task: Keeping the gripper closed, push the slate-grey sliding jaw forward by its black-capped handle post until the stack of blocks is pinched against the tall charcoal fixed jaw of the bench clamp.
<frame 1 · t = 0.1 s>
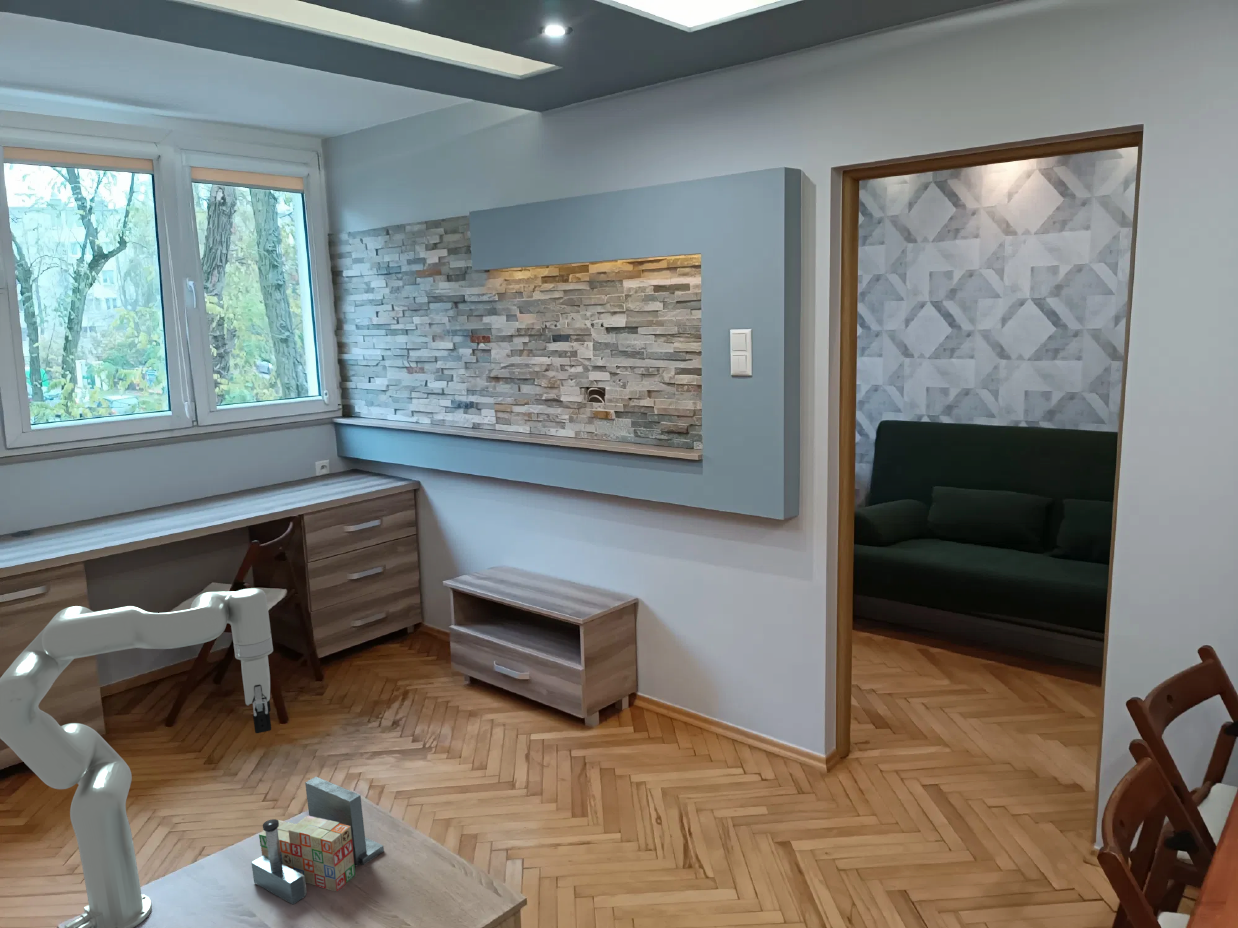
hand: (263, 721, 191), 37 cm above the table, tool pointing down, fingers open, 9 cm apart
fixed jaw: (339, 851, 206), on the table
stack of blocks: (309, 873, 199), on the table
sliding jaw: (275, 856, 192), point 8 cm above the table, slide at 0.0 cm
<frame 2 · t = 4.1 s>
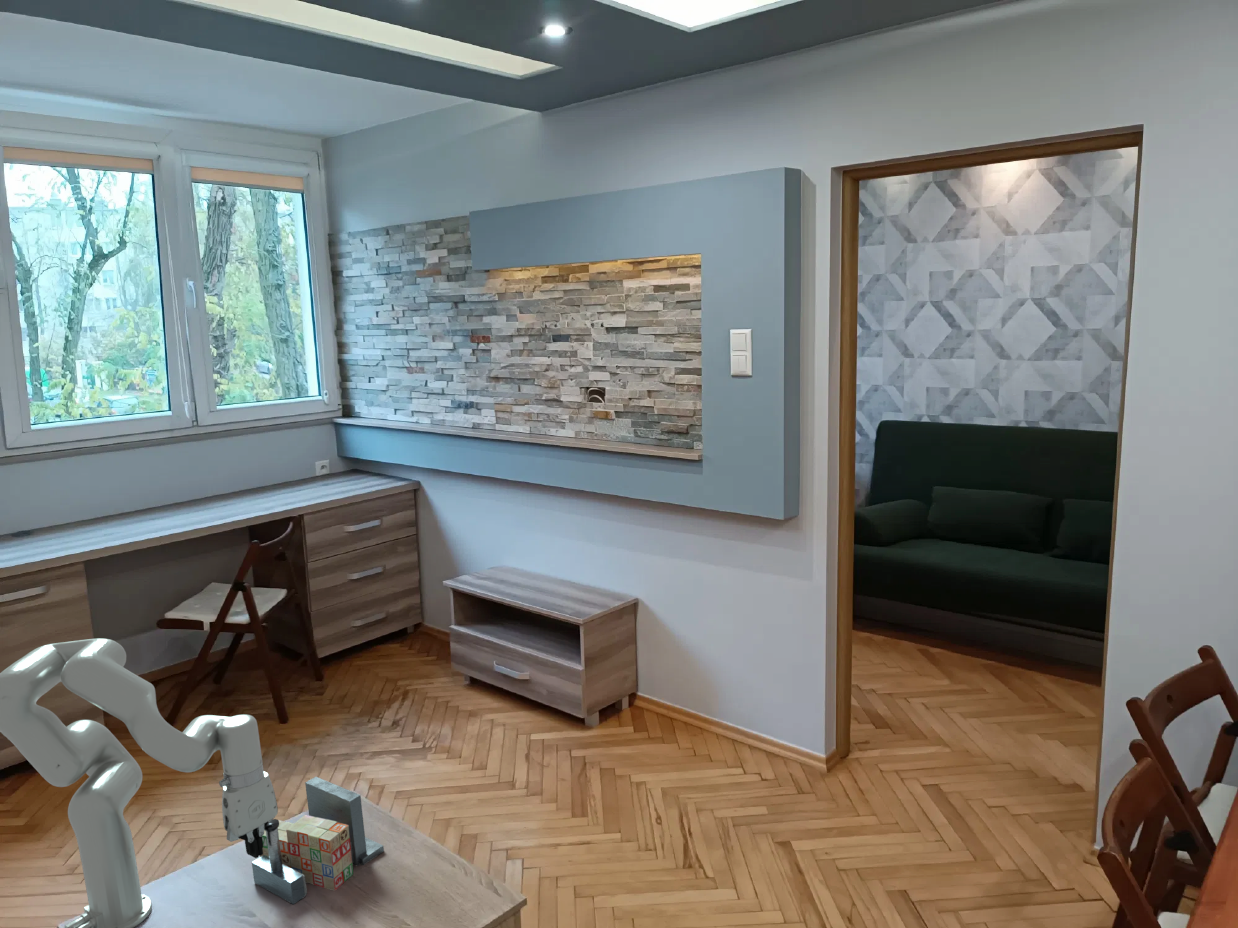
hand: (255, 854, 187), 11 cm above the table, tool pointing down, fingers closed
sliding jaw: (276, 855, 192), point 8 cm above the table, slide at 0.1 cm, touching gripper
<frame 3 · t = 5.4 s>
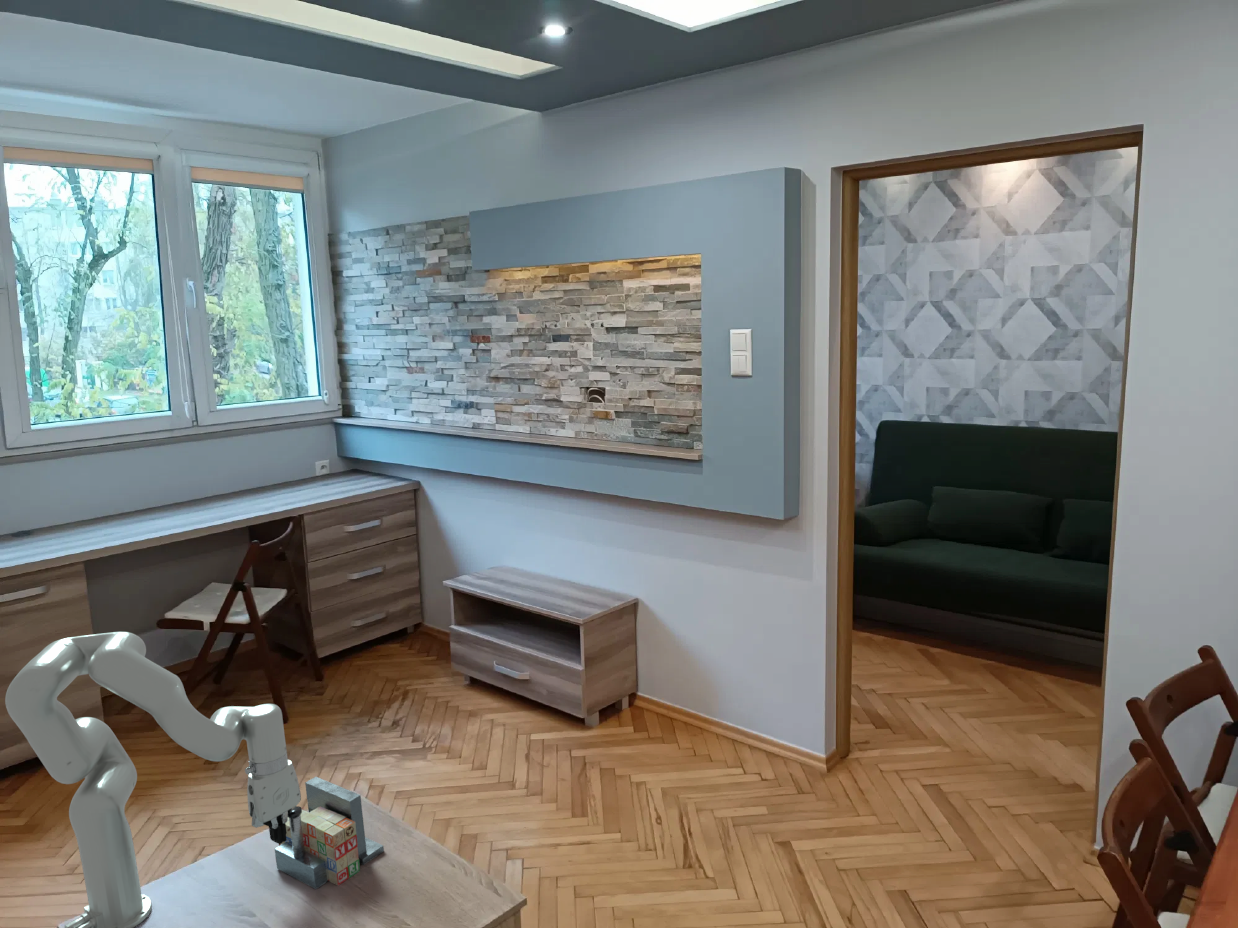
hand: (279, 840, 192), 11 cm above the table, tool pointing down, fingers closed
stack of blocks: (319, 863, 202), on the table, touching fixed jaw, sliding jaw
sliding jaw: (298, 842, 196), point 8 cm above the table, slide at 5.8 cm, touching gripper, stack of blocks
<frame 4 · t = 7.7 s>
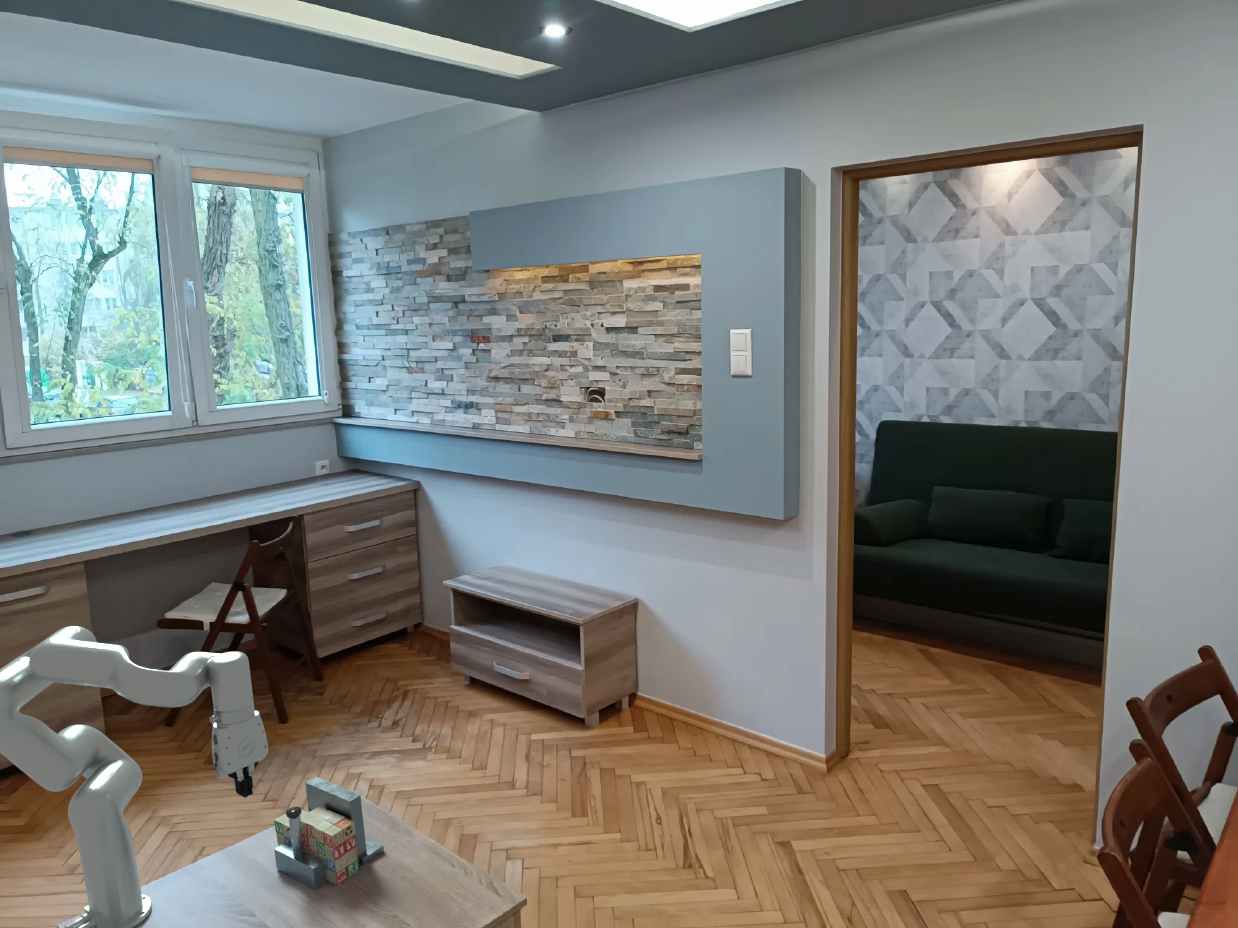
hand: (245, 793, 185), 25 cm above the table, tool pointing down, fingers closed
stack of blocks: (318, 863, 202), on the table
sliding jaw: (298, 842, 196), point 8 cm above the table, slide at 5.7 cm
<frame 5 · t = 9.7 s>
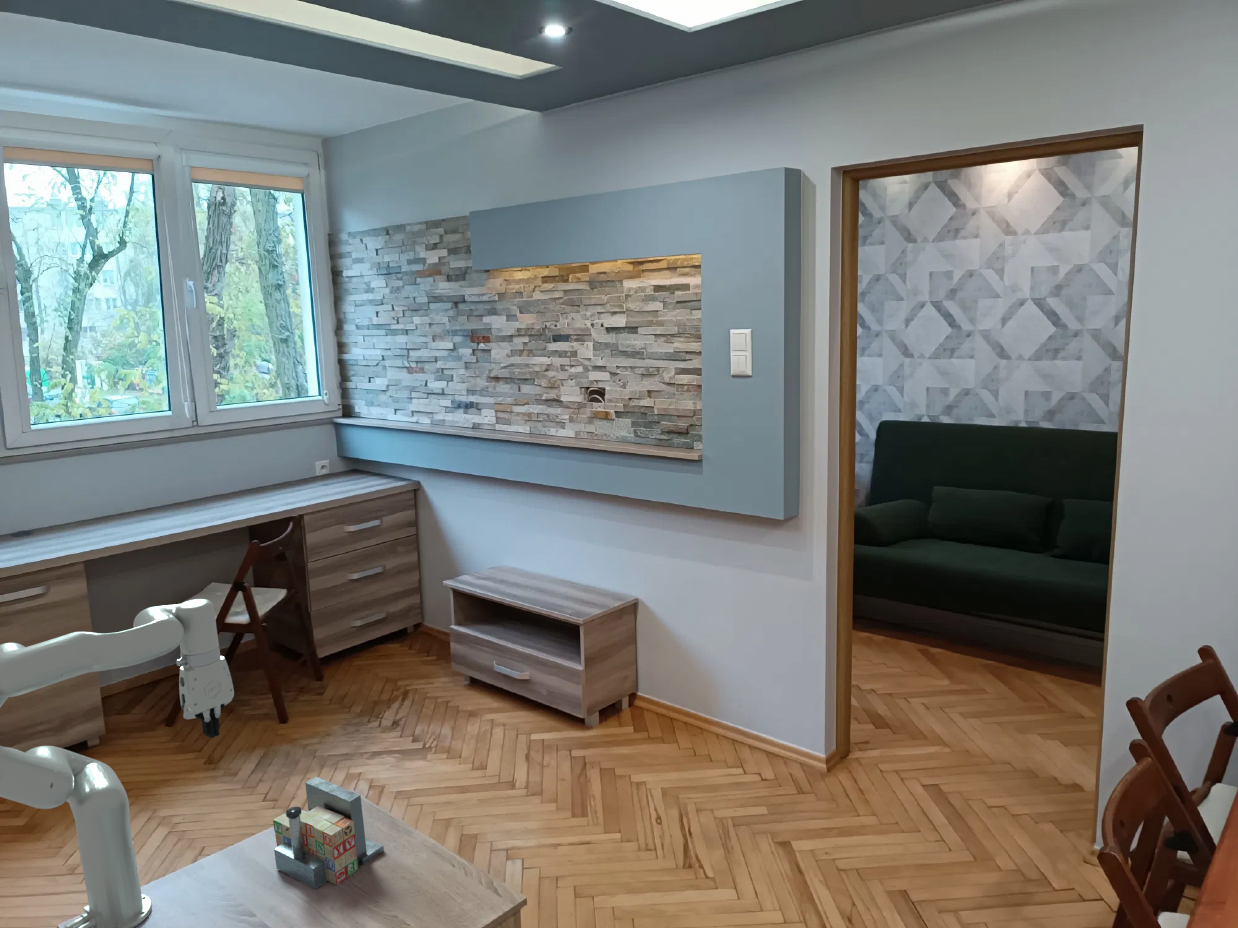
hand: (212, 734, 195), 33 cm above the table, tool pointing down, fingers closed
at the end: sliding jaw slide at 5.7 cm; stack of blocks 1.2 cm from the target spot, on the table; stack of blocks tilted 0° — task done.
